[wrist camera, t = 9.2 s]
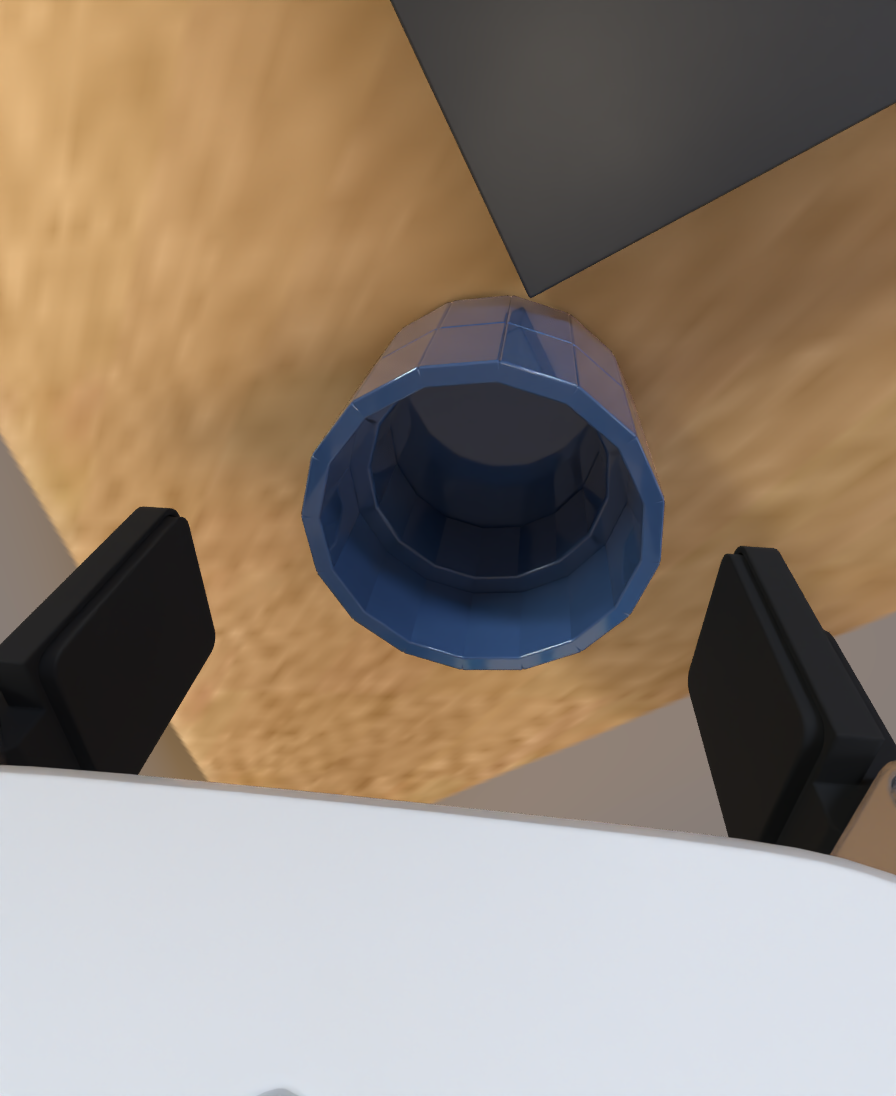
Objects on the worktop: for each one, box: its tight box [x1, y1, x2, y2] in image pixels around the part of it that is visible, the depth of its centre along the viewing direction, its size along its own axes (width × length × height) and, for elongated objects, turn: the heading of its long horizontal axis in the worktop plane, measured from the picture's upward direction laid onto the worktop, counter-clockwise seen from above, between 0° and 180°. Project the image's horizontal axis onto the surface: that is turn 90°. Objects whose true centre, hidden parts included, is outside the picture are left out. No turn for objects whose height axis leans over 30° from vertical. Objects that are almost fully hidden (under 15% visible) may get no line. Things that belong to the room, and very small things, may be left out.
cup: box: [301, 295, 665, 670], centre depth 15 cm, size 7×7×6 cm
